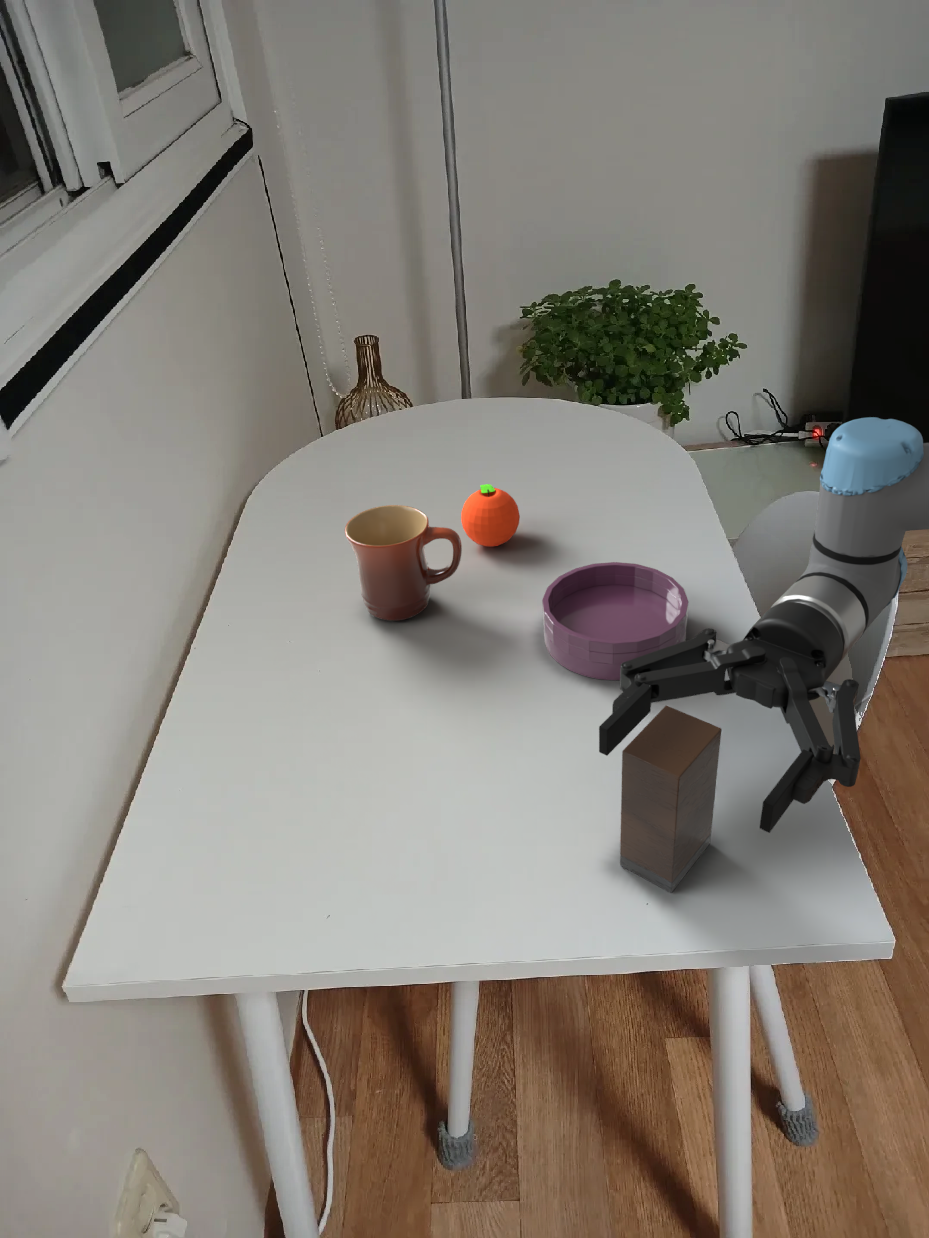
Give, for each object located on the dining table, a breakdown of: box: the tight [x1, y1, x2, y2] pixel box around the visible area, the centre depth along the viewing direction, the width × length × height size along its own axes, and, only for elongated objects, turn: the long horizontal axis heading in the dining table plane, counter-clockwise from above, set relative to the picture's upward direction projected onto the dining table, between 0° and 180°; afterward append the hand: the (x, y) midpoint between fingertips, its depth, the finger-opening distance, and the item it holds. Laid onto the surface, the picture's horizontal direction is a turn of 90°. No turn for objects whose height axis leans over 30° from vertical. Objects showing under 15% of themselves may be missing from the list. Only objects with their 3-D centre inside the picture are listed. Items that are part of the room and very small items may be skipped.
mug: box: [344, 504, 463, 622], centre depth 102 cm, size 12×9×10 cm
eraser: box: [619, 705, 722, 894], centre depth 70 cm, size 4×6×12 cm
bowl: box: [541, 561, 690, 681], centre depth 96 cm, size 14×14×4 cm
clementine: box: [460, 483, 521, 548], centre depth 113 cm, size 8×7×7 cm
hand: (680, 777), depth 71 cm, fingers open, 13 cm apart
